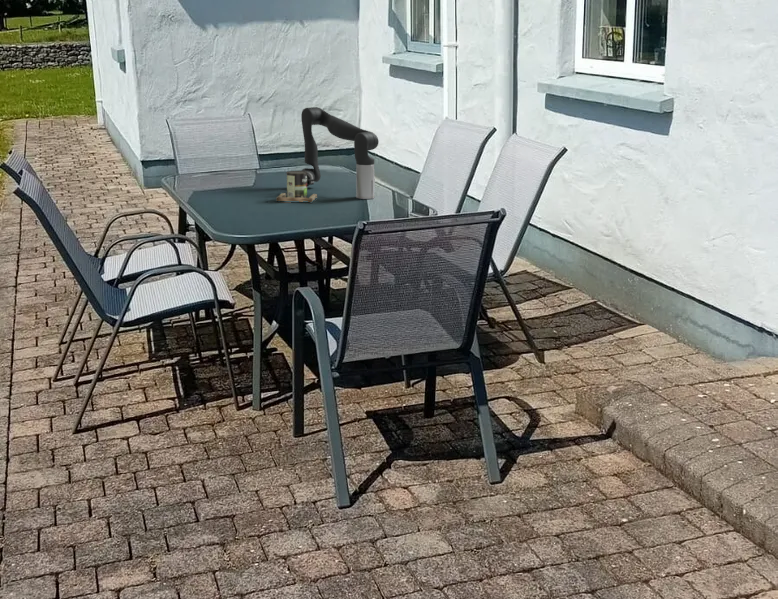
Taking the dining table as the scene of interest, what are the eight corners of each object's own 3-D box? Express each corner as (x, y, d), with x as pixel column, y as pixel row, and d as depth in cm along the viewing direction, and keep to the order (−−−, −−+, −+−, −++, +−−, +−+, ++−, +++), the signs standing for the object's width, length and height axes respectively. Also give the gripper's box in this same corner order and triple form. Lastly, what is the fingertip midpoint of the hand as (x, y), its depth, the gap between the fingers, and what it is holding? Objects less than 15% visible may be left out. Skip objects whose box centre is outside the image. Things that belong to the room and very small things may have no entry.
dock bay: (316, 198, 500) (316, 194, 499) (312, 203, 486) (312, 198, 486) (282, 197, 502) (282, 193, 501) (276, 202, 488) (276, 197, 488)
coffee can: (309, 198, 499) (309, 171, 495) (304, 202, 489) (303, 173, 485) (290, 197, 501) (289, 170, 497) (284, 201, 491) (283, 173, 487)
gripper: (292, 171, 514) (285, 176, 497) (317, 172, 512) (311, 177, 496) (292, 186, 516) (285, 191, 499) (317, 186, 514) (311, 191, 498)
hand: (298, 184), depth 497 cm, fingers closed
